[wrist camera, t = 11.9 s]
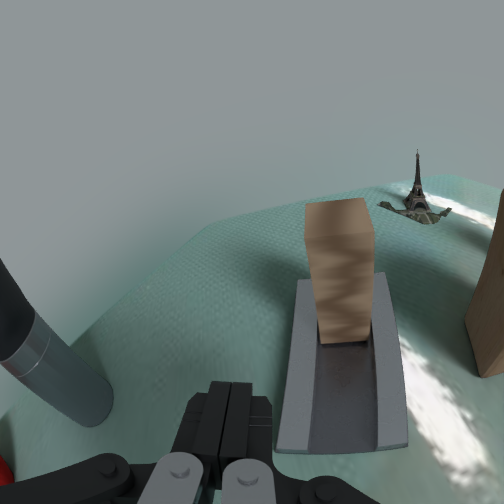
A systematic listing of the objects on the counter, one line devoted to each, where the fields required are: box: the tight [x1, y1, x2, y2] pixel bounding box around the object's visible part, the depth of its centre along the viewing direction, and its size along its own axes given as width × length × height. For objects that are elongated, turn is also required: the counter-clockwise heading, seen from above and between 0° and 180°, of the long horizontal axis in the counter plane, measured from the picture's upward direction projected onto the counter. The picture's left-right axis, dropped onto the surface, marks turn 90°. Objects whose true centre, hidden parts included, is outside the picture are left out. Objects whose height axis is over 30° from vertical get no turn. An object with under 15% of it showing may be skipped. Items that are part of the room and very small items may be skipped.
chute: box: [275, 272, 408, 454], centre depth 30 cm, size 14×24×3 cm, turn 171°
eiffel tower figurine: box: [377, 149, 452, 224], centre depth 48 cm, size 15×10×13 cm
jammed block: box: [304, 198, 374, 344], centre depth 29 cm, size 6×6×16 cm
